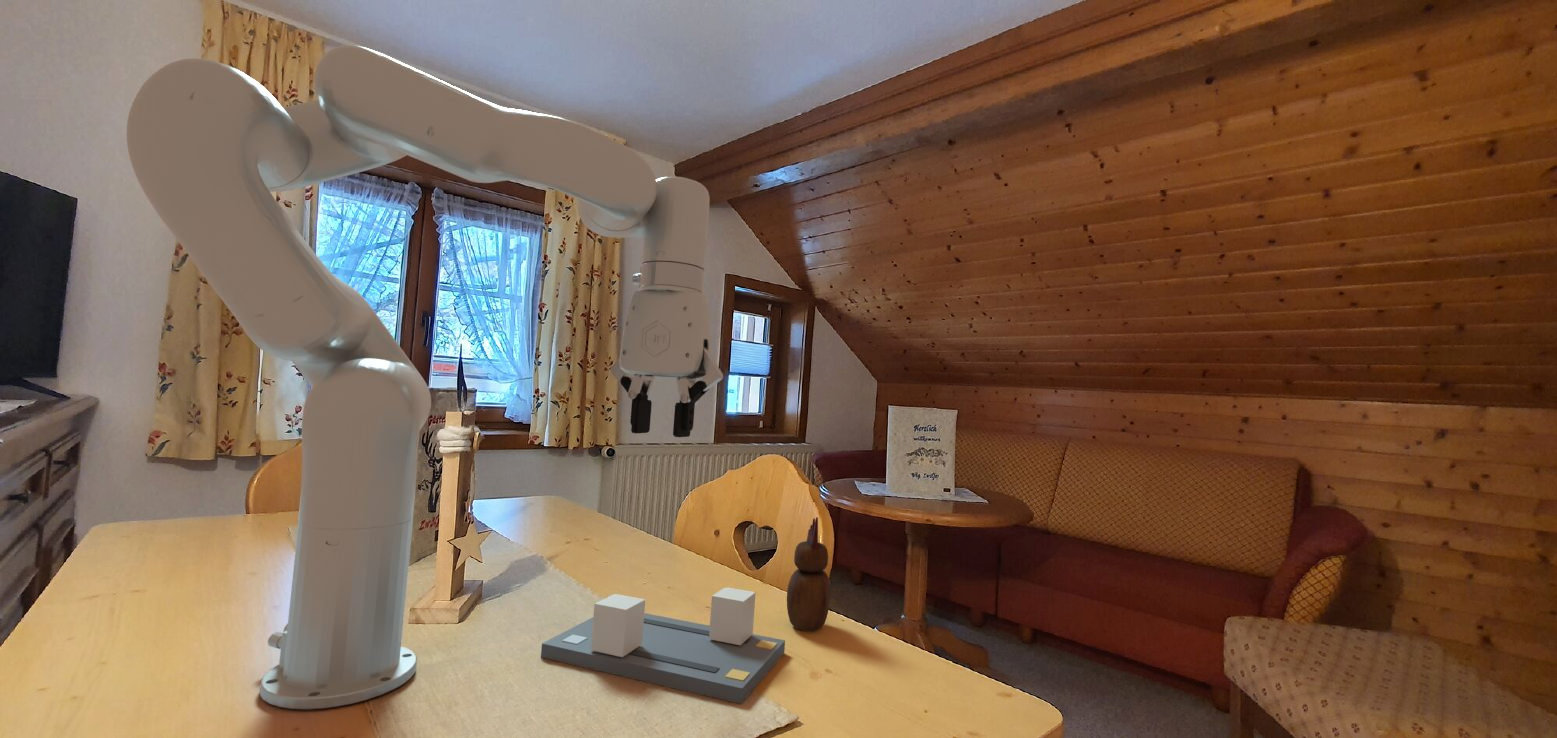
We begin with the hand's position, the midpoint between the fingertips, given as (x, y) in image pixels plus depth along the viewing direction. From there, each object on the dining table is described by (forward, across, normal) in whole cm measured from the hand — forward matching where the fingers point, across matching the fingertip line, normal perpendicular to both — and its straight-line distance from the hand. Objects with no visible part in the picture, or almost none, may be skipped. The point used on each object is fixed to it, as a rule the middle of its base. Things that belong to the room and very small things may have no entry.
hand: (660, 433), depth 75 cm
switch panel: (+25, +3, 0) cm, 26 cm away
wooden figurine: (+26, +15, +17) cm, 34 cm away
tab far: (+24, +9, +5) cm, 26 cm away
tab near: (+24, -1, -5) cm, 24 cm away
